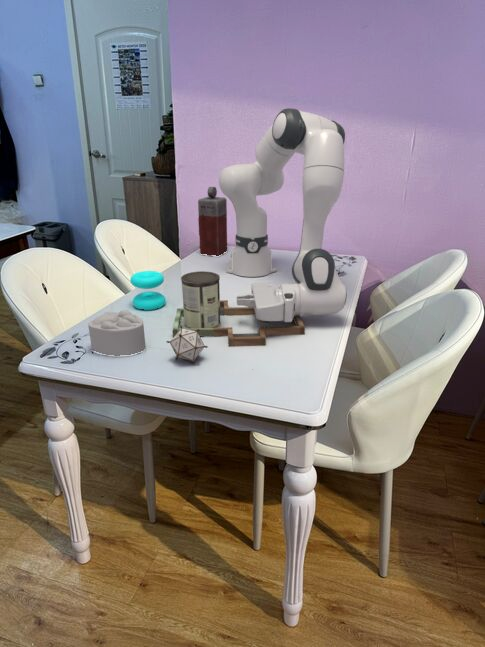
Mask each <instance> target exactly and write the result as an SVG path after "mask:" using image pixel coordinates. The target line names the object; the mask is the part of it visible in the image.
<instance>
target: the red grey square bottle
mask: <svg viewBox="0 0 485 647" xmlns="http://www.w3.org/2000/svg"><path fill="white" fill-rule="evenodd" d="M217 193H218V190H217V187H216V186H208V188H207V196H206V197H203V198H199V199H198V200H197V207H198V209H197V210H198V211H197V212H198V218H197V220H198V221H197V222H198V236H199V254H200V253H201V254H207V255H216V256H219V255H221V254H223V253H224V252H226V251H227V252H228V213H227V212H228V209H227V208H228V205H227V198H226V197H218V196H217ZM223 255H224V254H223Z"/></svg>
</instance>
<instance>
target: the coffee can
mask: <svg viewBox="0 0 485 647" xmlns="http://www.w3.org/2000/svg"><path fill="white" fill-rule="evenodd" d="M220 278H221V277H220V275H219V274H218V273H216V272H211V271H202V270H201V271H193V272H188V273H185V274H183V275H182V276H181V277H180V281H181V289H182V290H181V292H182V309H184V316H183V318H184V321H183V322H184V324H183V326H184V328H218V327H219V328H221V324H222V323H221V315H220V300H221V299H220V297H221V296H220V294H221V293H220V280H221V279H220Z"/></svg>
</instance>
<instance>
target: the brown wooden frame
mask: <svg viewBox="0 0 485 647" xmlns="http://www.w3.org/2000/svg"><path fill="white" fill-rule="evenodd" d="M224 315H226V316H256V315H255V310H254V307H247V306H243V307H241V306H240V307H238V306H237V307H229V301H228V300H225V299H224V300H222V299H220V316H224ZM182 317H184V308H176V313H175V317H174V322H173V326H172V338H173V337H174V336H175V335H176V334H177V333H178V331H179V330H180V329H181V328H180V327H179V326H180V325H181V321H180V320H182ZM293 320H294V323H295V325H284V326H283V325H281V326H279V325H277V326H258V332H255V333H254V332H253V333H252V332H251V333H250V332H249V333H248V332H247V333H246V332H245V333H234V331H233V327H232V326H231V327H228V326H227V327H226V326H225V327H219V328H185V327H183V328H184V329H189V330H194V331H197V330H198V329H200V331H198V333H199V335H200V336H214V337H227V340H228V344H229V345H228V347H250V346H251V347H252V346H253V347H254V346H255V347H257V346H262V347H263V346H266V344H267V343H266V342H267V338H266V336H284V335H285V336H292V335H293V336H295V335H296V336H298V335H305V330H306V329H305V328H306V326H305V324H304V322H303V320H302V317H301V315H299V316H294V318H293Z"/></svg>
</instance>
